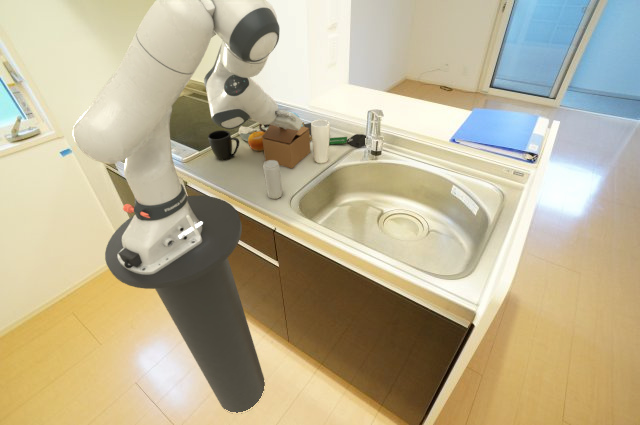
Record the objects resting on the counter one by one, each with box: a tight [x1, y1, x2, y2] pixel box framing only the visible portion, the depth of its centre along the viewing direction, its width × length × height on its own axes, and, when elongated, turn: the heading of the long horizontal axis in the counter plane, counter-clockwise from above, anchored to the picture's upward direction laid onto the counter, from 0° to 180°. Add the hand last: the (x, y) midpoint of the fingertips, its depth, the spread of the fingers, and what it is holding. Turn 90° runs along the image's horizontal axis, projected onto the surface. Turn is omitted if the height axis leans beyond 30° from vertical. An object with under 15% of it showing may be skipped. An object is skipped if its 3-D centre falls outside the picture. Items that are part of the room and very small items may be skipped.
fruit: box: [247, 130, 265, 152], centre depth 127 cm, size 8×8×8 cm
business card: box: [329, 136, 348, 145], centre depth 131 cm, size 9×1×5 cm
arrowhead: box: [238, 125, 257, 135], centre depth 141 cm, size 8×2×10 cm
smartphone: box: [304, 122, 312, 137], centre depth 141 cm, size 7×1×15 cm
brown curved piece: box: [258, 123, 270, 132], centre depth 144 cm, size 13×5×10 cm
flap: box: [262, 125, 298, 144], centre depth 114 cm, size 7×12×1 cm, turn 62°
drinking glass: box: [310, 119, 331, 164], centre depth 116 cm, size 7×7×15 cm
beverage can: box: [262, 160, 283, 200], centre depth 100 cm, size 5×5×12 cm
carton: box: [262, 126, 311, 169], centre depth 120 cm, size 14×12×10 cm
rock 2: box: [346, 133, 367, 148], centre depth 129 cm, size 9×7×5 cm
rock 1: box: [239, 133, 252, 142], centre depth 135 cm, size 9×2×5 cm
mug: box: [207, 129, 240, 161], centre depth 121 cm, size 8×12×10 cm
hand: (283, 127), depth 114 cm, fingers closed, pressing on flap
